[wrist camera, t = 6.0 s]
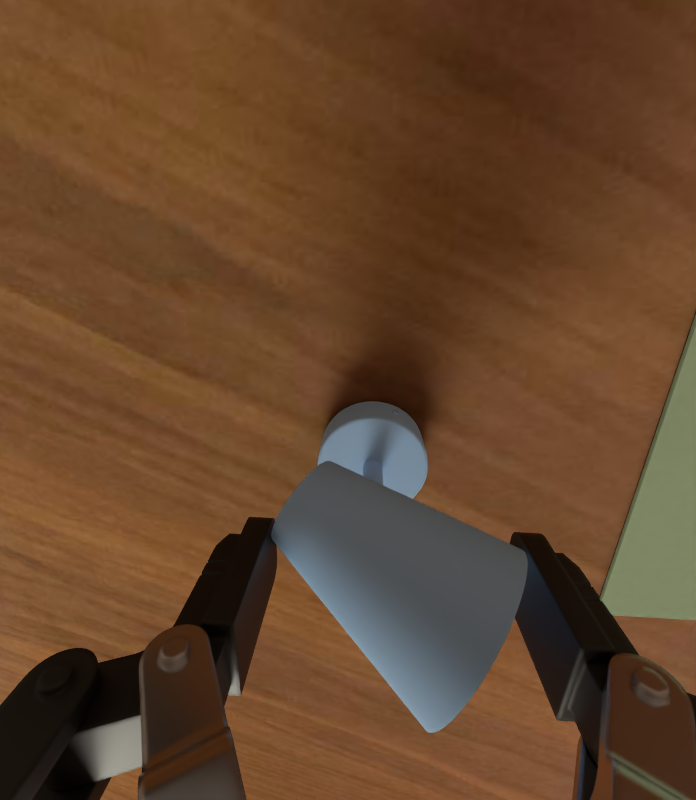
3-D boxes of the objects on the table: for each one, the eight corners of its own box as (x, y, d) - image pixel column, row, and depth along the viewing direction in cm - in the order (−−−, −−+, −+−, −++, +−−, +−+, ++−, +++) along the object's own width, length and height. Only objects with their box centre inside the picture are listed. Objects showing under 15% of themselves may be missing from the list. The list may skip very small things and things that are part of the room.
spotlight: (477, 437, 16) (332, 372, 16) (622, 676, 7) (280, 543, 6) (423, 521, 18) (289, 466, 17) (482, 802, 9) (199, 709, 8)
